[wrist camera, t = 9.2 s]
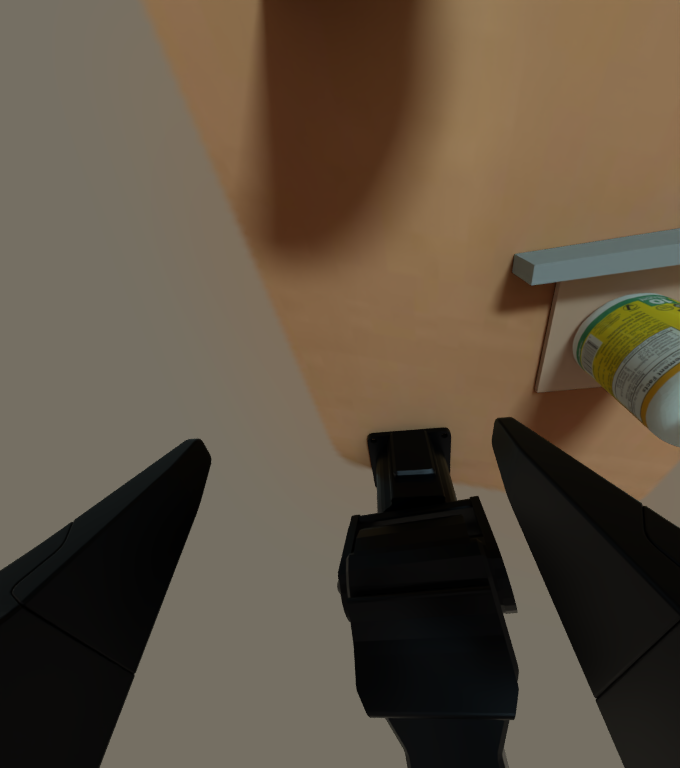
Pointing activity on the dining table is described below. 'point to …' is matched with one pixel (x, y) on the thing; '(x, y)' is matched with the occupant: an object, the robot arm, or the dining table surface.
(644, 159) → the dining table surface
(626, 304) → the supplement bottle
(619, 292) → the mat
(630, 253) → the low wall
